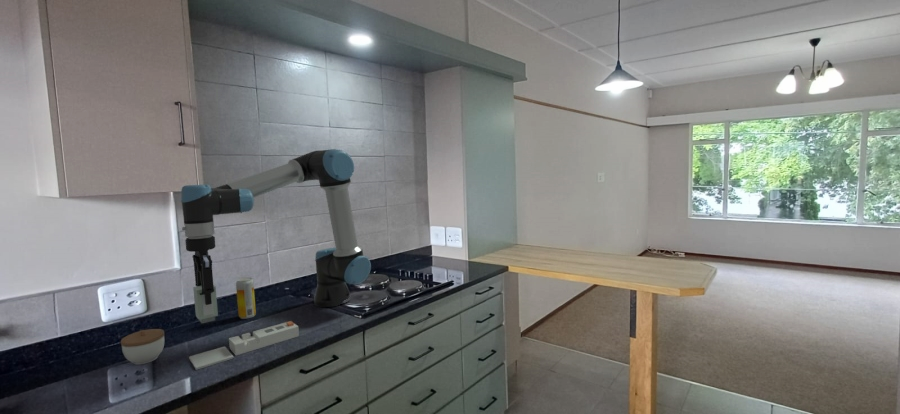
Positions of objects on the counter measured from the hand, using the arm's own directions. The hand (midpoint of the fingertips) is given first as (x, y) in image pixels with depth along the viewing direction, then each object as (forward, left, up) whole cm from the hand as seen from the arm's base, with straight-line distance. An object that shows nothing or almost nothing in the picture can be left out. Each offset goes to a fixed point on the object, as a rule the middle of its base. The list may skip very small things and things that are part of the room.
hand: (206, 312), depth 124 cm
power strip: (-16, 0, -15) cm, 22 cm away
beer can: (-19, -30, -15) cm, 39 cm away
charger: (0, 0, -3) cm, 3 cm away
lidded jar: (+15, -14, -15) cm, 25 cm away
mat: (0, 0, -15) cm, 15 cm away
